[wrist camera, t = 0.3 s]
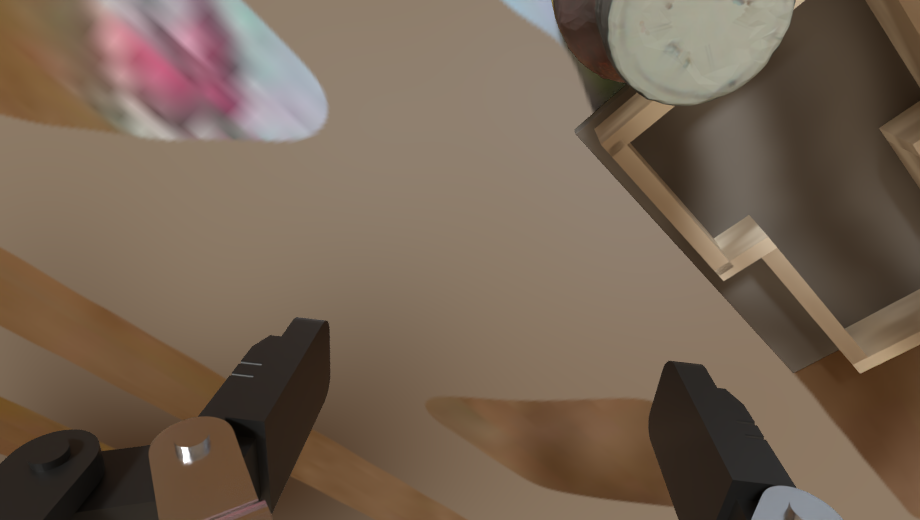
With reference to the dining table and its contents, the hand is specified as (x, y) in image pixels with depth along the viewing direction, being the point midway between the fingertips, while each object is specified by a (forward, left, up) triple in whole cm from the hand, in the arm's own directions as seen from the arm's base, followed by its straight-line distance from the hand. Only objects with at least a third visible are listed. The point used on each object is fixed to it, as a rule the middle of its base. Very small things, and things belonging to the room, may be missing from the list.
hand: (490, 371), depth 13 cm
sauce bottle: (-9, -2, -24) cm, 25 cm away
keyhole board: (-11, +16, -24) cm, 30 cm away
